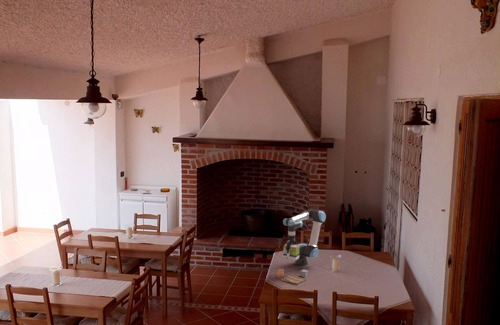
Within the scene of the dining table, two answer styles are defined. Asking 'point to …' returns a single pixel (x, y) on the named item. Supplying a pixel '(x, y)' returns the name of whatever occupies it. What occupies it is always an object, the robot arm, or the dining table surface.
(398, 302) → the dining table surface
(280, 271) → the terracotta jar
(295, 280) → the slatted wooden board
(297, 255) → the tea box
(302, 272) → the slate block
